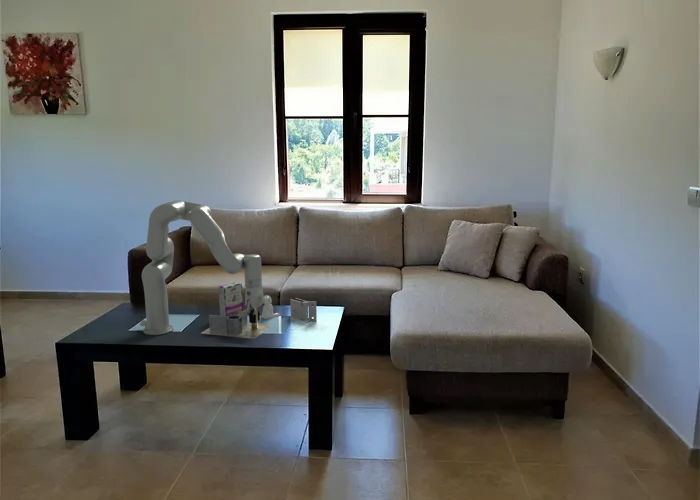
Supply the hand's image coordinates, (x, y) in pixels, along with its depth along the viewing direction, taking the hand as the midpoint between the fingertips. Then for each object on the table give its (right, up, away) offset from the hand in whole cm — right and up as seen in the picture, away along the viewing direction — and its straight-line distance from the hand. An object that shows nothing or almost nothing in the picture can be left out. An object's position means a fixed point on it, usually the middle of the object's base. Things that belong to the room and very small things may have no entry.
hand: (254, 321), depth 245 cm
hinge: (+21, -2, +16) cm, 26 cm away
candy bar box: (-15, -1, +21) cm, 26 cm away
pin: (0, -3, +1) cm, 3 cm away
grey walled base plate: (-8, -5, 0) cm, 9 cm away
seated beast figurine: (+4, -1, +18) cm, 19 cm away
